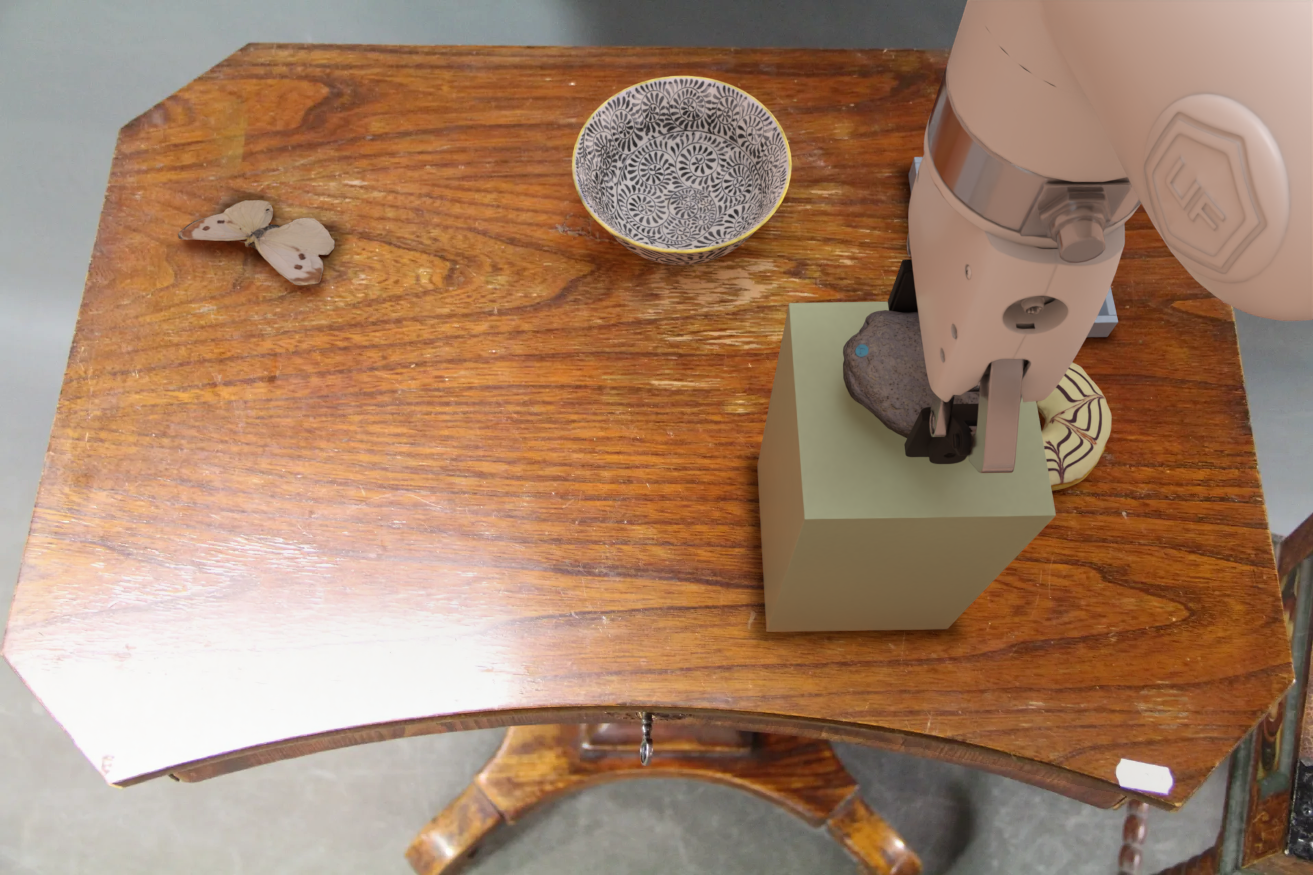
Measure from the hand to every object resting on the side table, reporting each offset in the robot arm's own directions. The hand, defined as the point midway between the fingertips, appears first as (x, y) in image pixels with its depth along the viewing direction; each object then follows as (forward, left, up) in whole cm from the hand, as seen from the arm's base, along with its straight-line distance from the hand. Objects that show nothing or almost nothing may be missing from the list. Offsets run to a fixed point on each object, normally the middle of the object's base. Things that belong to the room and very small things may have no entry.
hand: (929, 376), depth 51 cm
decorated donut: (+8, -13, -25) cm, 29 cm away
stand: (0, 0, -25) cm, 25 cm away
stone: (0, 0, -1) cm, 1 cm away
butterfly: (+25, +44, -25) cm, 56 cm away
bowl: (+27, +11, -25) cm, 38 cm away
